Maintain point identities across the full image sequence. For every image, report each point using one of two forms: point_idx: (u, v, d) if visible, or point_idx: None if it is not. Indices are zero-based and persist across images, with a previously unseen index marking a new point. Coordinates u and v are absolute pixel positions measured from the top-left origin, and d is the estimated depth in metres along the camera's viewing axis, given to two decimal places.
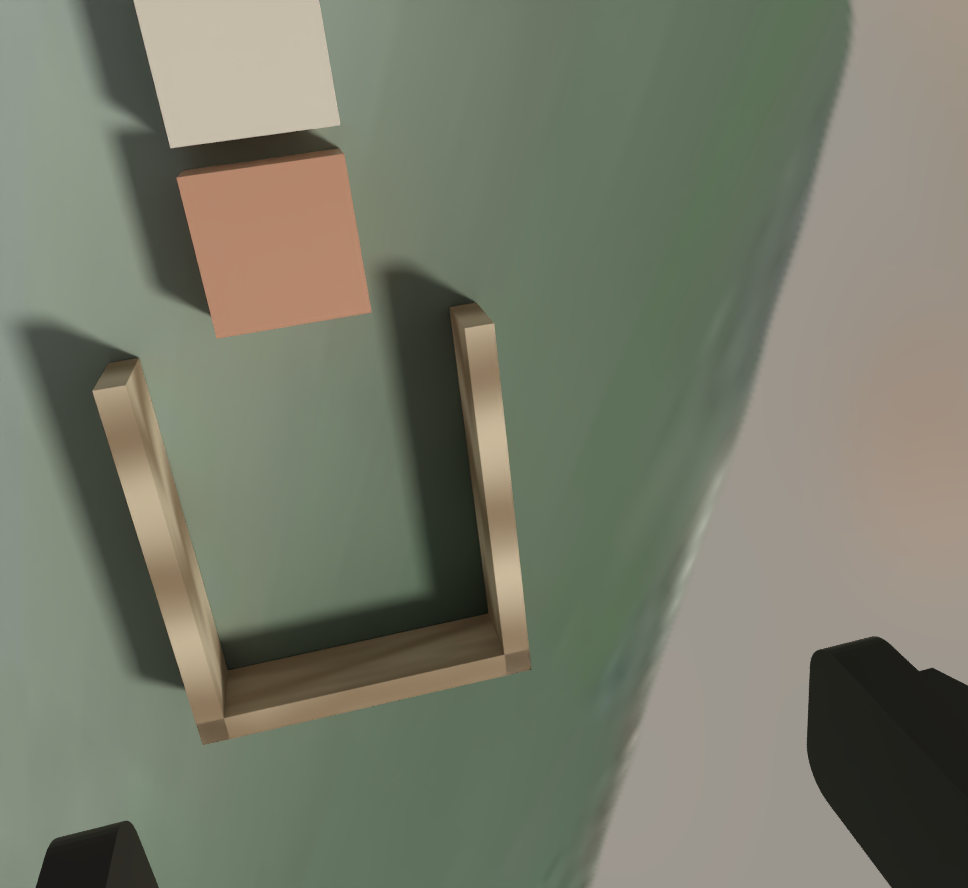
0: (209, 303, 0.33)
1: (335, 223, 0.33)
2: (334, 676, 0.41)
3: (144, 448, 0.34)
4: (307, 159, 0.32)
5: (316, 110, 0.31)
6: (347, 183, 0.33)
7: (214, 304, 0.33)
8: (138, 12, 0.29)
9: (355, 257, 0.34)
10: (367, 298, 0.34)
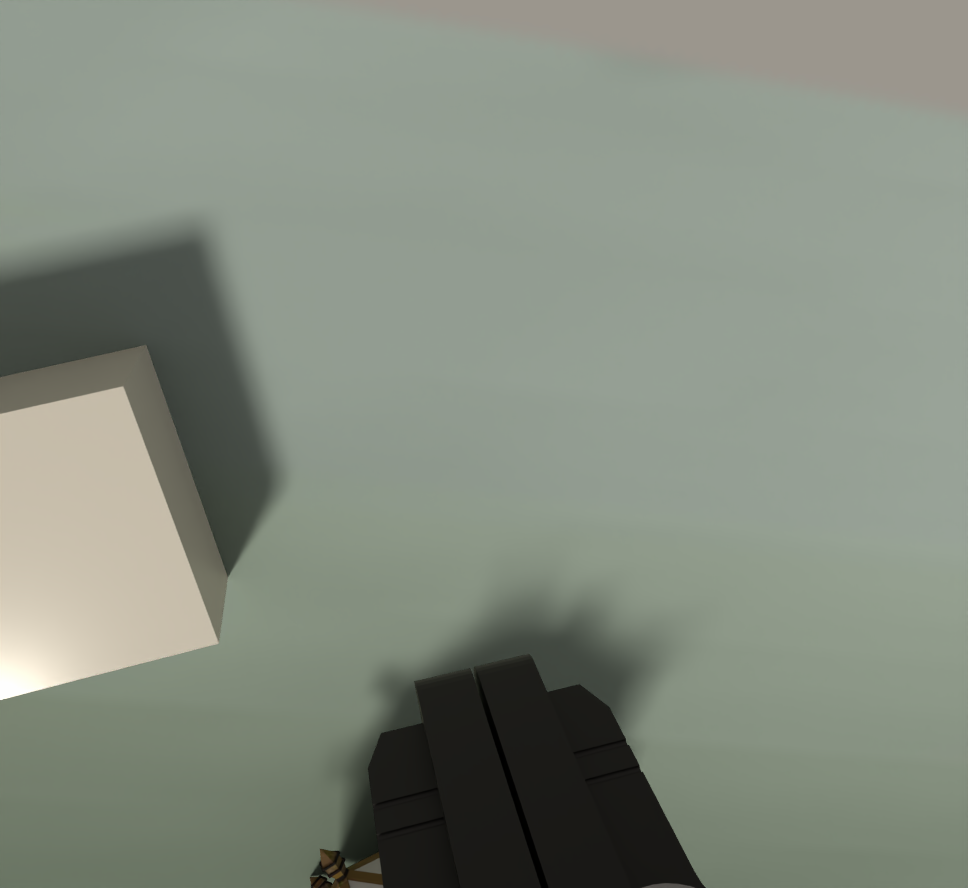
0: None
1: None
2: None
3: None
4: None
5: None
6: None
7: None
8: (31, 411, 0.16)
9: None
10: None
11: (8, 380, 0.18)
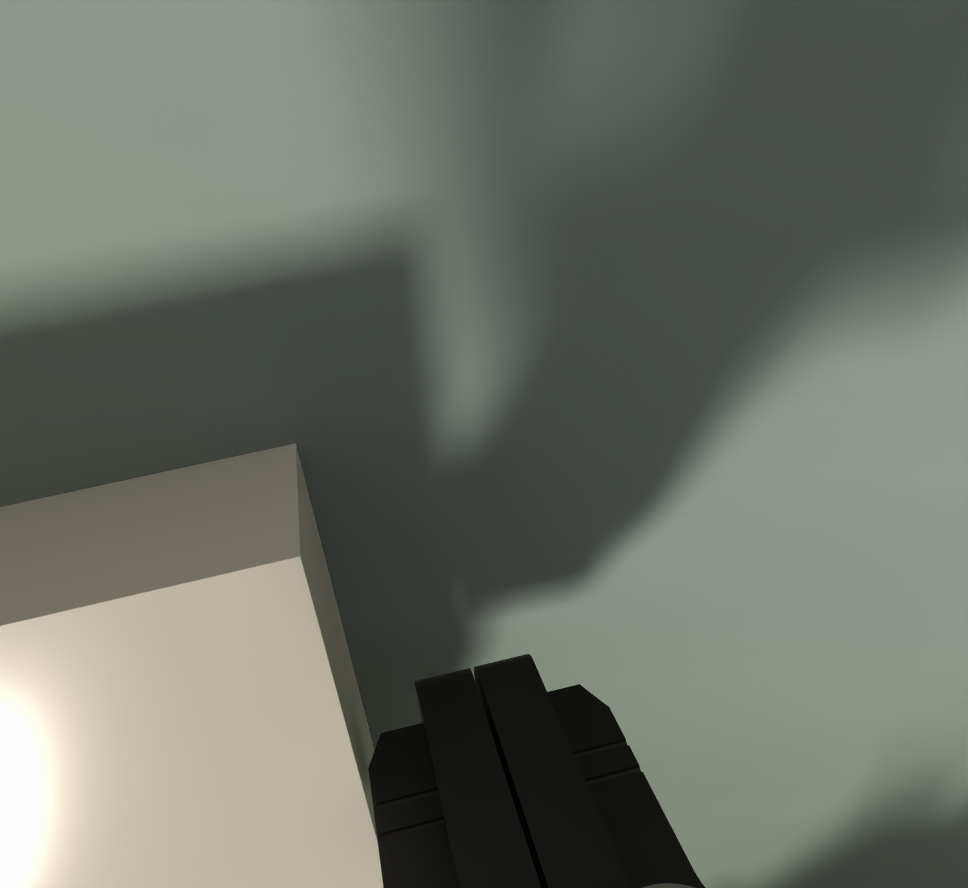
0: None
1: None
2: None
3: None
4: None
5: None
6: None
7: None
8: (121, 605, 0.08)
9: None
10: None
11: (58, 513, 0.10)
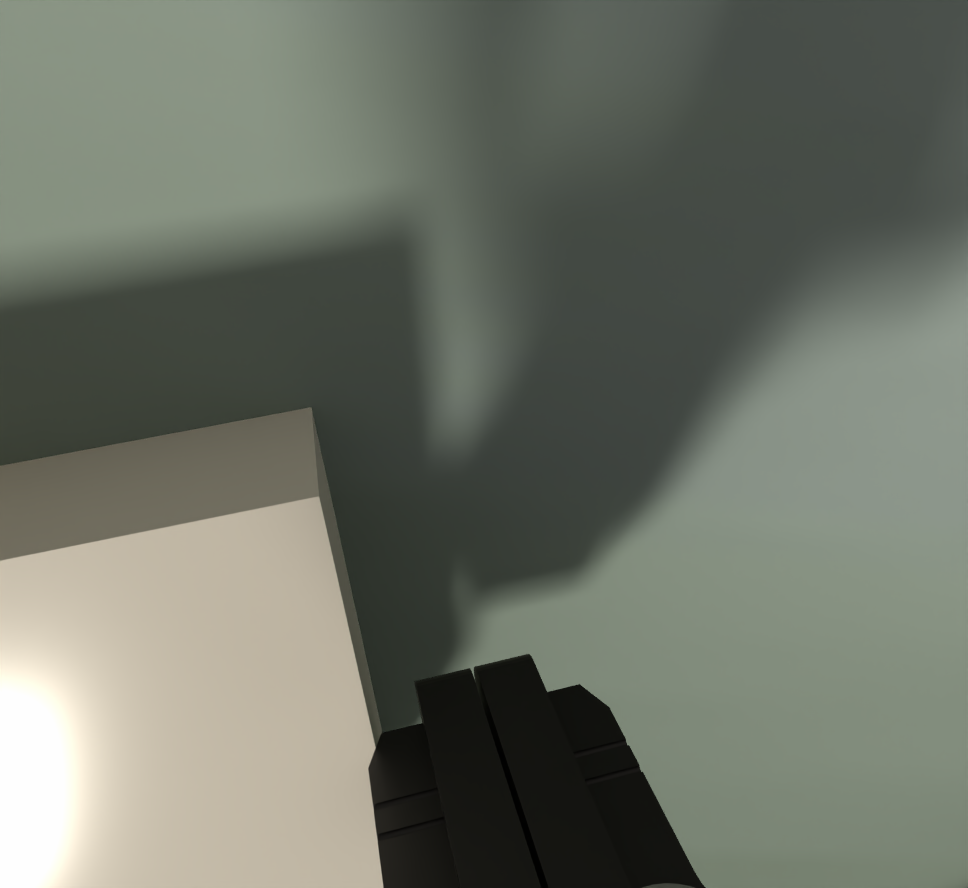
0: None
1: None
2: None
3: None
4: None
5: None
6: None
7: None
8: (144, 539, 0.08)
9: None
10: None
11: (78, 458, 0.10)
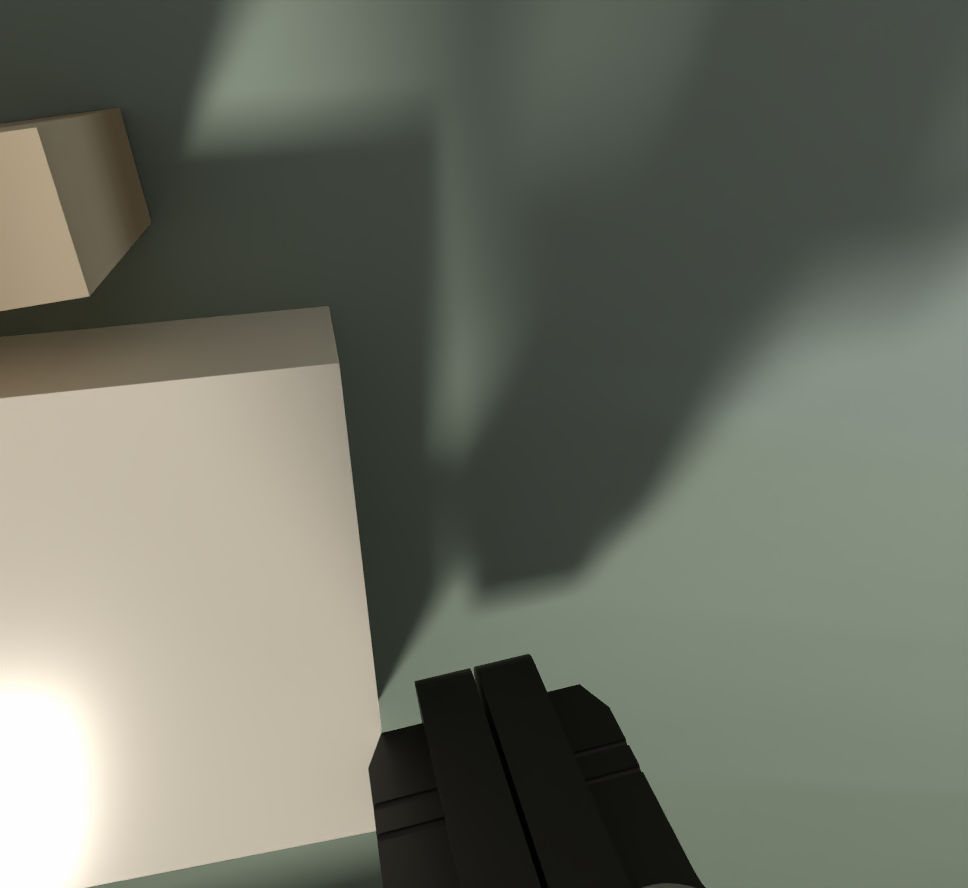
0: None
1: None
2: None
3: None
4: None
5: None
6: None
7: None
8: (156, 390, 0.08)
9: None
10: None
11: (86, 329, 0.10)
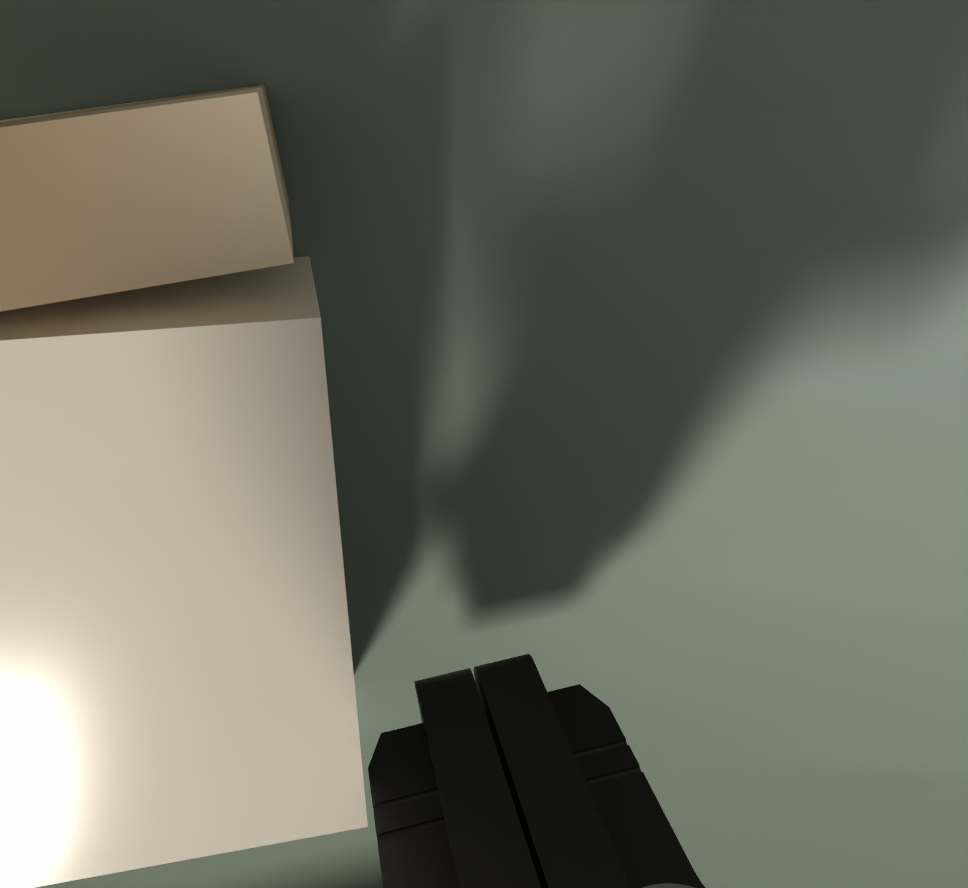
0: None
1: None
2: None
3: None
4: None
5: None
6: None
7: None
8: (115, 341, 0.07)
9: None
10: None
11: None
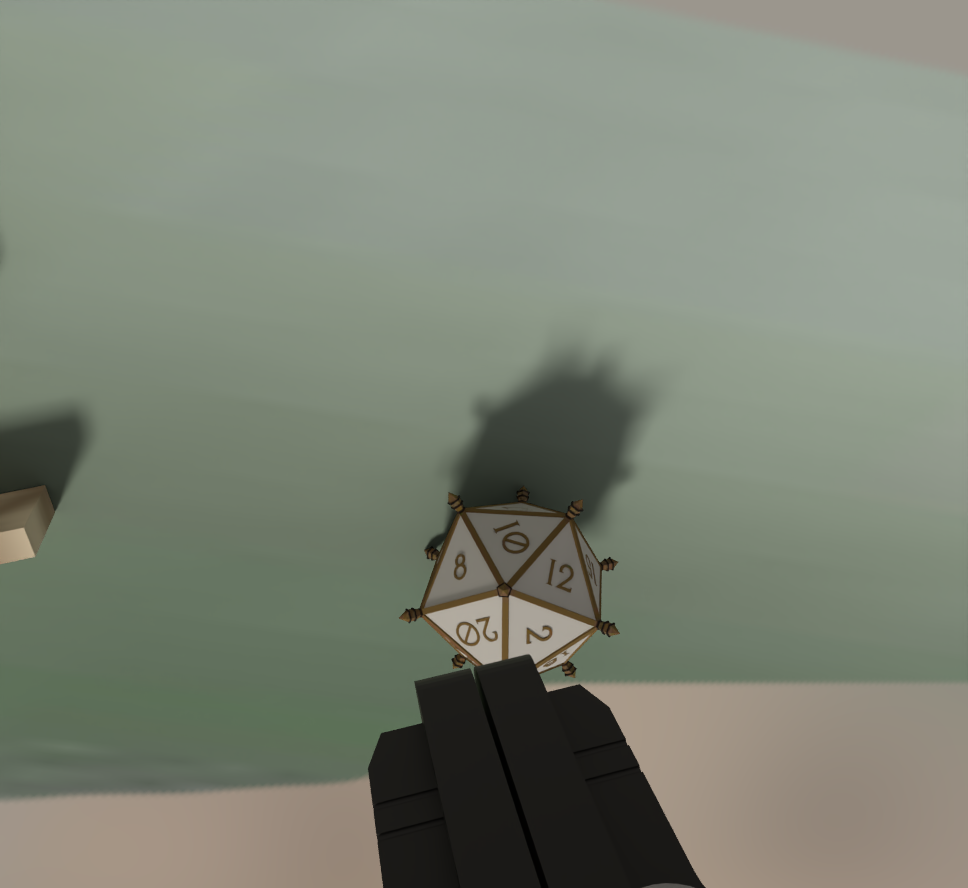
0: None
1: None
2: None
3: None
4: None
5: None
6: None
7: None
8: None
9: None
10: None
11: None
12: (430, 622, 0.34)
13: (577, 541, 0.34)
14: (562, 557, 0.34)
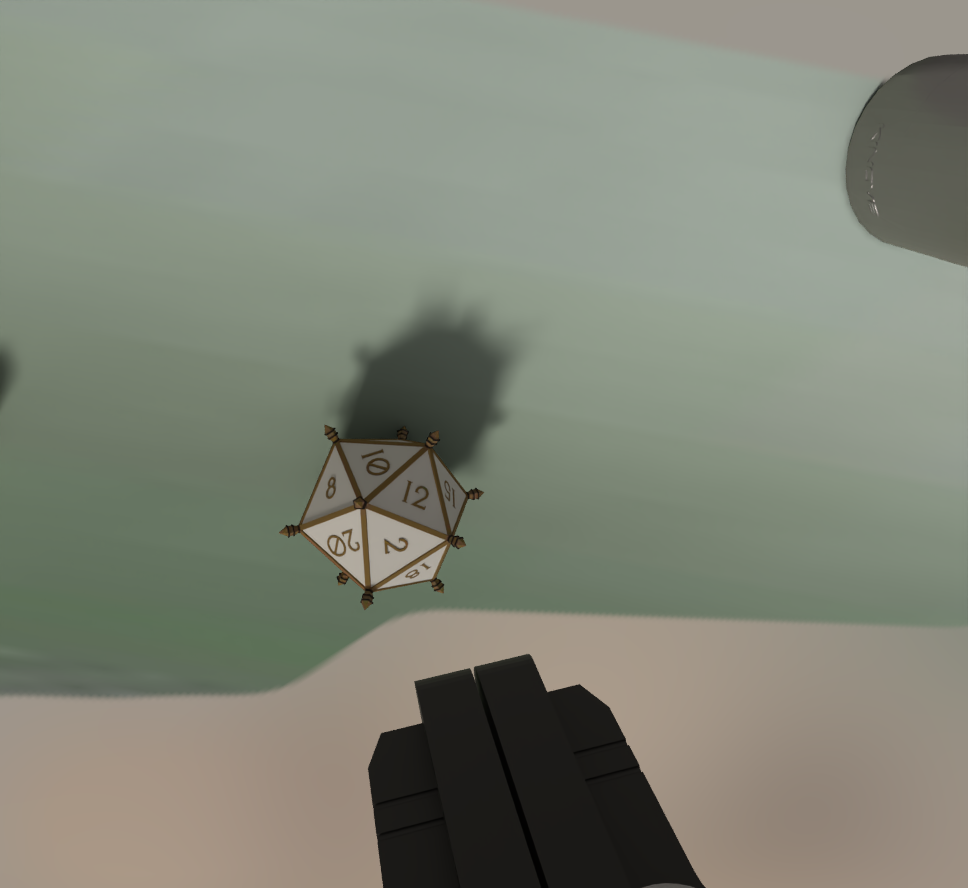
0: None
1: None
2: None
3: None
4: None
5: None
6: None
7: None
8: None
9: None
10: None
11: None
12: (306, 537, 0.40)
13: (434, 467, 0.39)
14: (419, 480, 0.39)
